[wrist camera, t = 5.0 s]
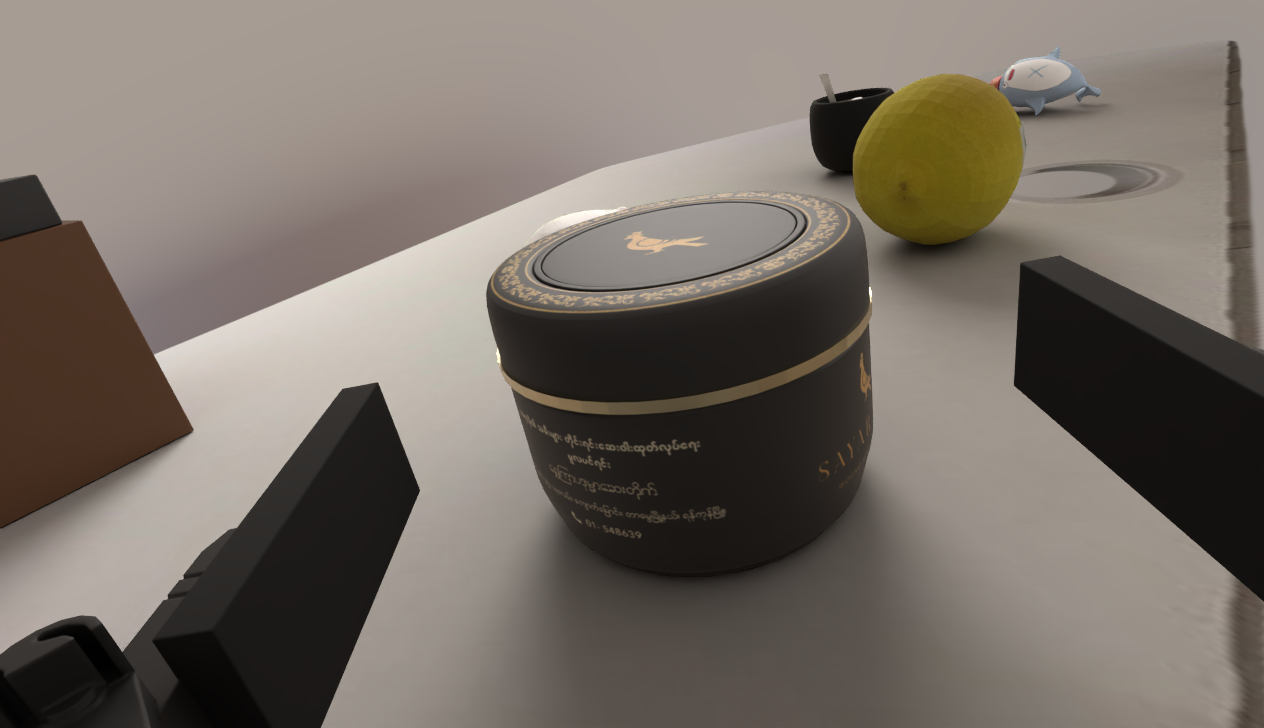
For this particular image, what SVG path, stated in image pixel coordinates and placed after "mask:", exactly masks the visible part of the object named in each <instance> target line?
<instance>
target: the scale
mask: <svg viewBox="0 0 1264 728" xmlns="http://www.w3.org/2000/svg"><path fill="white" fill-rule="evenodd" d="M191 431H193V428H192V426H191V424H190V422H189V420H188V418H187V416H186V414H185V413H184V411H183V409H182V407H181V405H180V403H179V401H178V400H177V398H176V396H175V394H174V392H173V390H172V388H171V386H170V385H169V383H168V381H167V379H166V377H165V375H164V373H163V372H162V370H161V368H160V366H159V364H158V362H157V360H156V358H155V357H154V355H153V353H152V351H151V349H150V347H149V345H148V343H147V342H146V340H145V338H144V336H143V334H142V332H141V330H140V329H139V327H138V325H137V323H136V322H135V319H134V317H133V316H132V314H131V312H130V310H129V308H128V306H127V304H126V302H125V301H124V299H123V297H122V295H121V293H120V291H119V289H118V288H117V286H116V284H115V282H114V280H113V278H112V276H111V274H110V273H109V271H108V269H107V267H106V265H105V263H104V261H103V259H102V258H101V256H100V254H99V252H98V250H97V248H96V246H95V245H94V243H93V241H92V239H91V237H90V235H89V234H88V232H87V230H86V228H85V226H84V224H83V222H82V221H61V219H60V217H59V215H58V213H57V211H56V210H55V208H54V206H53V205H52V202H51V201H50V199H49V197H48V195H47V193H46V191H45V189H44V188H43V186H42V184H41V182H40V181H39V179H38V177H37V176H36V175H28V176H22V177H15V178H9V179H3V180H0V528H1V527H3V526H5V525H7V524H9V523H11V522H13V521H15V520H17V519H19V518H21V517H23V516H25V515H27V514H29V513H31V512H33V511H35V510H37V509H39V508H41V507H43V506H45V505H47V504H49V503H51V502H53V501H55V500H57V499H59V498H61V497H63V496H64V495H66V494H68V493H70V492H72V491H74V490H76V489H78V488H80V487H82V486H84V485H86V484H88V483H90V482H92V481H94V480H96V479H98V478H100V477H102V476H104V475H106V474H108V473H110V472H112V471H114V470H116V469H118V468H120V467H122V466H124V465H126V464H128V463H130V462H132V461H134V460H136V459H138V458H140V457H142V456H144V455H146V454H148V453H150V452H152V451H154V450H156V449H158V448H159V447H161V446H163V445H165V444H167V443H169V442H171V441H173V440H175V439H177V438H179V437H181V436H183V435H185V434H187V433H189V432H191Z"/></svg>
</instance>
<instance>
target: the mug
mask: <svg viewBox="0 0 1264 728" xmlns="http://www.w3.org/2000/svg"><path fill="white" fill-rule="evenodd" d="M820 78H821V81H822V83H823V85H824V88H825V91H826V93H827V96H826V97H823V98H820V99H817V100H815V101H814V102H813V103H812V105H811V107H810V131H811V140H812V146H813V150H814V153H815V155H816V157H817V159H818V161H819V162H820V163H821V164H822V166H823V167H826V168H828V169H830V170H834V171H853V153H854V150H855V146H856V143H857V140H858V138H859V136H860V134H861V132H862V130H863V128H864V126H865V125H866V123H867V122H868V120H869V119H870V117H871V116H872V114H873V113H874V112H875V110H876V109H877V108H878V107H879V106H880V105H881V104H882V102H883V101H884V100H885V99H887V98H888V97H889V96H891V95H892V94H894V92H893V90H892V89H890V88H870V89H861V90H854V91H848V92H843V93H838V94H834V93H833V90H832V86H831V83H830V79H829V76H828V74H822V75H820Z"/></svg>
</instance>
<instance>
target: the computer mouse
mask: <svg viewBox="0 0 1264 728" xmlns="http://www.w3.org/2000/svg"><path fill="white" fill-rule="evenodd" d="M625 209H627V208H625V207H619V208H617V209H616V210H588V211H581V212H576V213H572V214H568V215H564V216H561V217H559V218H556V219H554V220H552V221H550V222H548V223H546V224H544V225H543V226H541V227H540V228H539V229H537V230H536V231H535V232H534V233H533V234H532V235H531V236H530V238H529V239H528V240H527V242H526V243H525V245H524V246H523V248H524V247H526V246H528V245H530V244H531V243H533V242H535V241H537V240H539V239H541V238H543V237H545V236H548V235H550V234H552V233H554V232H557V231H559V230H562V229H564V228H567V227H569V226H572V225H575V224H578V223H581V222H583V221H587V220H590V219H593V218H596V217H599V216H603V215H606V214H610V213H613V212H617V211H621V210H625ZM523 248H522V249H523Z"/></svg>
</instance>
